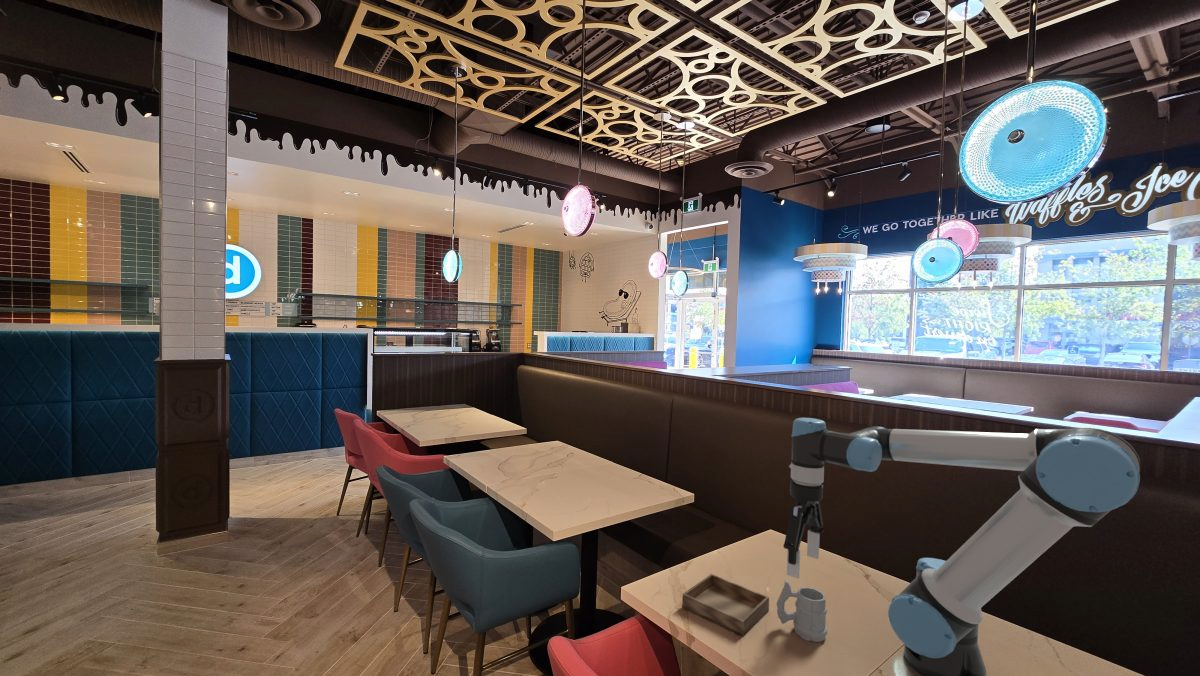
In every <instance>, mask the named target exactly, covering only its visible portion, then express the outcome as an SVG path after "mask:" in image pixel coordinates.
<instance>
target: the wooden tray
mask: <svg viewBox="0 0 1200 676" xmlns="http://www.w3.org/2000/svg"><path fill="white" fill-rule="evenodd" d="M681 602H682V603H681V605H682V606H681V607H682V609H683V610H685V611H687V612H689V613H691V614H694V615H696V616H698V617H700V618H702V619H704V620H706V621H708V622H710V623H712V624H714V625H716V626H718V627H721V628H722V629H725V630H727V631H728V632H731V633H733V634H735V635H737V636H739V637H740V638H741V637H742V638H743V637H744V636H746V635H747V634H748V632H750V631H751V629H753V628H754V627H755V626H756V625H757V623H758V622H760V621H761V620H762V619H763V618H764V617H765V616H766V615H767V614H768V613H769V611H770V597H769V596H767V595H765V594H762V593H760V592H758V591H755V590H752V589H750V588H747V587H745V586H743V585H740V584H738V583H735V582H733V581H730V580H728V579H725V578H723V577H720V576H718V575H715V574H713V573H710V574H709V575H708V576H706V577H705V578H703V579H702V580H701V581H699V582H698V583H696V584H694V585H693V586H692V587H691V588H689V589H687V591H685V592H684V593H682V601H681Z"/></svg>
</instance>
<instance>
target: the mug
mask: <svg viewBox="0 0 1200 676" xmlns="http://www.w3.org/2000/svg"><path fill="white" fill-rule="evenodd" d="M783 585H784V586H783V588H782V590H781V593H780V595H779V597H778V599H777V601H776V607H777V609H776V611H777V617H778V619H779V620H780V623H781V625H785V624H786V623H788V622H789V621H792V620H793V622H792V623H793V627H794V632H795V633H796V635H798V637H800V638H801V639H803V640H805V641H808V642H814V643H818V642H823V641H825V639H826V637H827V634H828V627H827V625H826V624H827V623H826V621H827V620H826V618H827V617H826V615H827V613H828V608H827V606H826V605H827V604H826V600H827V599H826V596H825V594H824V593H823V592H822V591H821V590H818V589H816V588H813V587H809V586H808V587H804V586H803V587H800V588H799V589H798V590H797V591H794V590H792V586H791V584H790V583H789V581H788V580H787V579H785V580H784V584H783ZM790 597H792V598H796V600H795V602H794V605H795V607H796V608H795V611H792V612H787V610H786V608H785V606H786V605H785V603H786V601H788V599H789V598H790Z"/></svg>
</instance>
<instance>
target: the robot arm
mask: <svg viewBox="0 0 1200 676" xmlns="http://www.w3.org/2000/svg"><path fill="white" fill-rule="evenodd" d="M826 426H827V424H826V422H825V421H824V420H822V419H819V418H813V417H798V418H795V419H794V420H793V424H792V431H791V435H790V436H791V459H790V461H791V462H790V464H789V465H788V468H789V469H790V479H791V480H790V482H789V494H790V496H791V497H792V498H794V499H795V500H796V503H795V504H794V505H791V506H790V508H789V509H790V511H789V518H788V523H787V528H786V533H785V538H784V543H783V549H785V550H787V553H786V555H787V557H786V560H787V561H786V575H787V576H790V577H792V578H796V579H799V578H800V569H801V568H800V567H801V550H800V547H801V543H802V539H803V535H804V531H805V528H806V526H808V528H809V529H808V530H807V543H806V544H807V545H806V556H807V557H809V558H812V559H815V560H819V558H820V557H819V555H820V536H821V535H820V534H823V533H824V532H825V529H824V528H823V527H824V522H823V516H822V515H823V514H822V508H821V501H822V500H823V496H824V485H823V484H822V483H824V482H825V481H824V480H825V479H824V477H825V463H827V464H828V463H829V464H833V465H838V466H841V467H845V468H848V469H849V468H850V469H854V470H856V471H863V472H870V473H873V472H875V471H877V470H878V468H879V466H880V465H881V461H892V462H893V461H896V462H898V461H899V462H908V463H919V464H920V463H921V464H930V465H931V464H932V465H933V464H934V465H945V466H957V467H967V468H968V467H969V468H980V469H981V468H982V469H991V470H992V469H994V470H1006V471H1017V472H1018V471H1019V472H1021V473H1020V474H1019V475H1018V477H1017V479H1018V482H1019V487H1020V489H1019V490H1018V491H1016V492H1015V493H1014V494H1013V495H1012V497H1011V498H1009V499H1008V501H1006V502H1005V503H1004V504H1003V505H1002V506H1001V507H1000V508H999V509H998V510H996V512H995V513H994V514H993V515H992V516H991V517H990V518H989V519H988V520H987V521H986V522H985V523H983V524H982V526H981V527H979V529H977V531H976V532H974V533H973V534H972V535H971V536H970V537H969V538H968V539H967V540H966V541H965V542H964V543H963V544H962V545H961V546H960V547H959V548H958V549H957V550H956V551H955V552H954V553H952V554H951V556H950V557H949V558H948V559H947V560H943V559H941V558H940V559H939V558H935V557H922V558H919V559H918V560H917V563H916V564H917V565H916V566H915V569H916V576H915V578H914V579H913V580H912V581H911V582H910V583H909V584H908V585H907V586H906V587H905V588H904V589H903V590H902V591H901V592H899V594H897V595H895V596H894V597H892V599H891V602H890V604H889V606H888V611H887V613H888V614H887V616H888V618H889V619H888V620H889V623H890V626H891V628H892V630H893V632H894V633H895V635H896V636H897V637H898V639H899V640H900V641H901V642H902V643H903V644H904V645H903V654H904V655H903V656H904V658H905V660H906V661H907V663H908V665H910V666H911V667H912V668H913V669H914V670H915V671H916V672H918V673H920V674H921V675H922V676H987V668H986V666H985V661H984V659H983V655H982V652H981V649H980V646H979V643H978V641H979V640H978V639H979V624H980V623H982V621H983V619H984V618H983V611H982V608H983V606H985V605H986V604H987V603H988V602H990V601H991V599H993V598H994V597H995V596H996V595H997V594H998V593H1000V591H1002V590H1003V589H1004V588H1005V587H1006V586H1008V585H1009V584H1010V583H1011V582H1012V581H1014V580H1015V578H1017V576H1019V575H1020V574H1021V573H1022V572H1023V571H1025V570H1026V569H1027V568H1028V567H1029V566H1030V565H1032V564H1033V563H1034V562H1035V561H1036V560H1037V559H1038V558H1039V557H1040V556H1041V555H1043V554H1044V553H1045V552H1046V551H1047V550H1048V549H1049V548H1051V547H1052V546H1053V545H1054V544H1056V543H1057V542H1058V541H1059V540H1060V539H1061V538H1062V537H1063V536H1064V535H1066V534H1067V533H1069V531H1070V530H1072V528H1075V527H1086V528H1087V527H1088V528H1091V527H1093V526H1095V525H1096V524H1097V523H1098V522H1099V521H1100V520H1102V519H1103V518H1104V517H1105V516H1106V515H1108V514H1109V513H1110V512H1111V511H1112V510H1115V509H1116V510H1117V509H1118V508H1119V507H1123V506H1124V505H1126V504H1128V503H1129V501H1130V500H1132V499H1133V498H1134V496H1135V495H1136V493H1137V492H1138V489H1139V485H1140V480H1141V475H1140V474H1141V467H1142V466H1141V458H1140V457H1139V454H1138V453H1137V452H1136V450H1135V449H1134V447H1133V446H1132V445H1131V444H1130V443H1129V442H1128V441H1126V440H1125V439H1124V438H1122V437H1120V435H1118V434H1116V433H1113V432H1111V431H1110V430H1109V431H1108V430H1104V429H1101V428H1094V427H1077V428H1076V427H1075V428H1035V429H1034V430H1032V431H1031V432H1029V433H1021V432H1020V433H1019V432H1018V433H1016V432H1015V433H1014V432H1013V433H1012V432H991V431H990V432H985V431H960V430H935V429H934V430H933V429H928V430H927V429H909V428H908V429H907V428H906V429H905V428H904V429H903V428H902V429H901V428H885V427H883V426H868V427H865V428H863V429H860V430H857V431H853V432H850V433H845V432H838V431H833V430H828V429H827V427H826Z"/></svg>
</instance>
